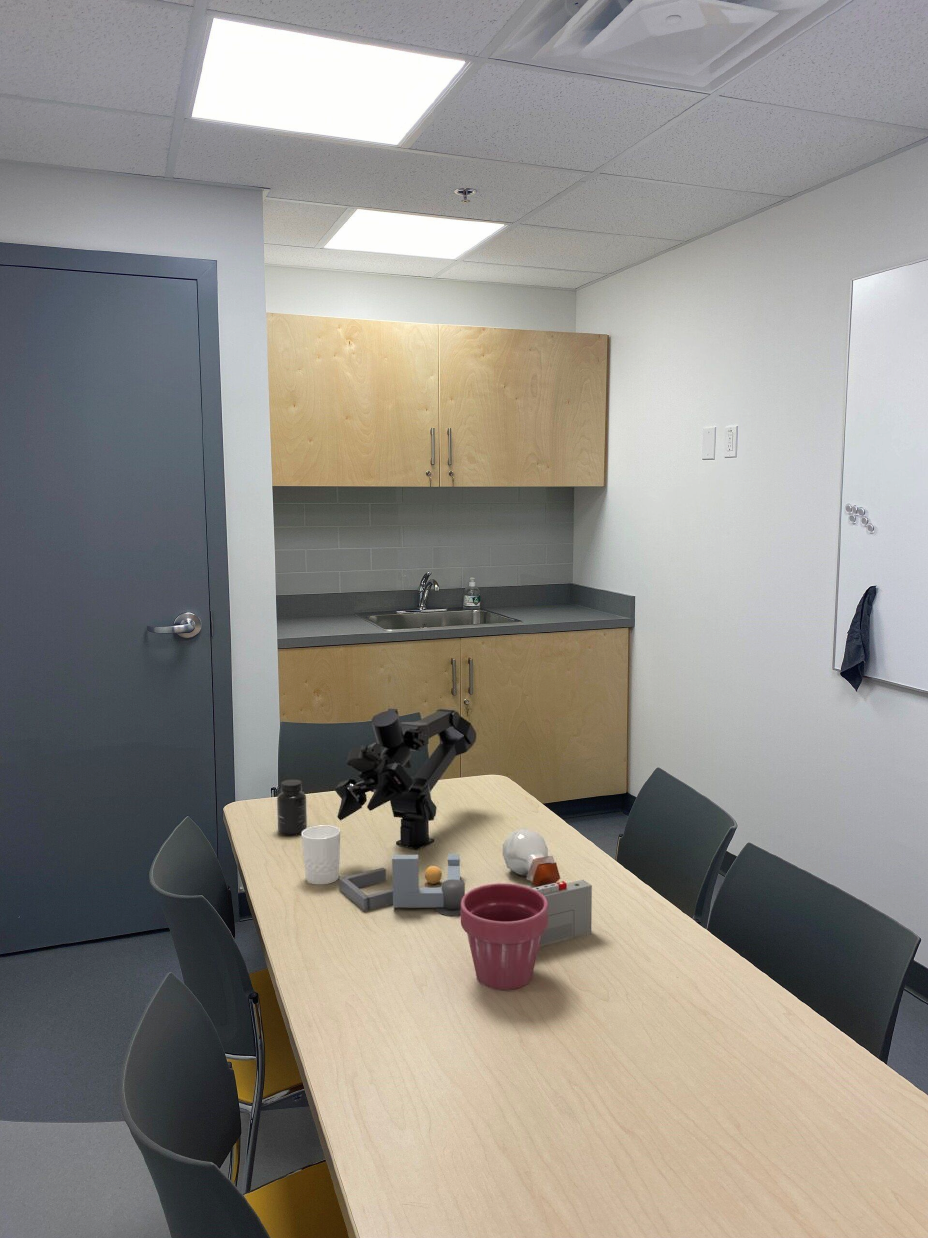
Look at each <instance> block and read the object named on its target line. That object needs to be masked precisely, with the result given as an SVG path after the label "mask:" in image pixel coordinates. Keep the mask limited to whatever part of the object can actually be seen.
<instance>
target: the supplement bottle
mask: <svg viewBox="0 0 928 1238" xmlns="http://www.w3.org/2000/svg"><path fill="white" fill-rule="evenodd" d="M302 790H303V786H302V780H300V779H287V780H284V781H282V782H280V793H279V794H278V795H277V798H276V807H277V808H276V810H277V812H276V813H277V832H278V833H279V834H280V835H282V836H286V837H293V836H294V837H295V836H296V837H297V836H300V835H302V831H303V830H305V829H307V828H308V819H307V818H308V814H307V811H308V810H307V809H308V808H307V796H306V794H305V792H304V791H302Z"/></svg>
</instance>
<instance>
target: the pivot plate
mask: <svg viewBox="0 0 928 1238" xmlns="http://www.w3.org/2000/svg"><path fill="white" fill-rule="evenodd" d="M434 910H435V912H437V913H438V914H440V915H443V916H447V917H459V916H460V917H461V908H460V909H446V908H444V907H434Z"/></svg>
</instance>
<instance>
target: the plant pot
mask: <svg viewBox="0 0 928 1238" xmlns="http://www.w3.org/2000/svg"><path fill="white" fill-rule="evenodd" d="M532 888H533V887H532ZM532 888H531V887H528V886H526V885H522V884H516V883H508V882H506V883H501V882H500V883H490V884H489V883H488V884H484V885H480V886H478V887H475V888H473V889H471V890H469V891H468V892H465V895H464V896H463V898H462V900H461V915H460V926H461V928H462V930H463V931H464V932H465V933H466V935H467V939H468V944H469V948H470V954H471V958H472V961H473V966H474V967H473V968H474V971H475V976H476V979H477V981H479V983H480V984H482V986H485V987H487V988H490V989H493V990H496V991H497V990H498V991H511V990H518V989H520V988H523V987H525V986H526V985H528V984H529V983H530V982H531V981H532V977H533V974H534V970H535V965H536V962H537V957H538V954H539V953H538V952H539V949H540V946H539V944H540V940H541V934H542V933H543V932H544V931H545V930H546V928H547V926H548V902H547V899H546V898H545V896H544V895H543V894H541V893H540V892H538V891H537V890H534V889H532Z"/></svg>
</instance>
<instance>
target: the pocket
mask: <svg viewBox="0 0 928 1238" xmlns="http://www.w3.org/2000/svg"><path fill="white" fill-rule="evenodd" d="M386 873H387V871H386V868H384V867H380V868H375V869H371V870H367V871H362V872H358V873H355V874H352V875H351V874H350V875H347V876H343V877H339V878H338V880H339V881H338V884H339V885H338V886H339V888H338V889H339V891H340V892H341V893H342V894H343V895H344V896H346V897H347V898H348V899H349V900H351V902H353V903H354V904H355V905H356V906H358V908H360V909H361V910H362V911H363V912H368V911H371V910H375V909H379V908H383V907H386V906H389V905H393V887H392V888H390V889H389V888H388V889H385V890H382V891H378V892H377V891H376V892H373V893H370V894H369V893H368V894H366V893H365V892H364V891H363V890H362V889H361V888H364V887H369V886H373V885H375V884H376V885H377V884H380V883H385V882H386V881H387V874H386Z"/></svg>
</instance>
